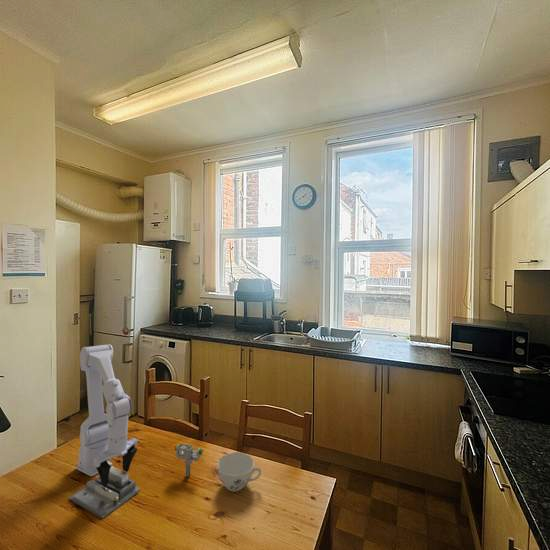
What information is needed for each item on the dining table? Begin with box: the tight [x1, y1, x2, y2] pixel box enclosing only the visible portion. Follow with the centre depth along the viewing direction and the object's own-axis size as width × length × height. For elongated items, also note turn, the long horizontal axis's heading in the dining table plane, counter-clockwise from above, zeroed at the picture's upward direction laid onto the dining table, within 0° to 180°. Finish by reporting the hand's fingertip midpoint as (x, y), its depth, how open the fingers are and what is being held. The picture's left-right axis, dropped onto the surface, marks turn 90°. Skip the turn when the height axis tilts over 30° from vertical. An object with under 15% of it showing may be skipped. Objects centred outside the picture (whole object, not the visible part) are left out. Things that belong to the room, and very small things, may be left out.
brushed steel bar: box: [108, 465, 130, 489], centre depth 97 cm, size 9×2×5 cm, turn 64°
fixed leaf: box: [68, 475, 141, 520], centre depth 94 cm, size 16×13×3 cm
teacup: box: [216, 451, 262, 493], centre depth 101 cm, size 15×12×8 cm
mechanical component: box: [174, 443, 204, 478], centre depth 105 cm, size 3×10×10 cm, turn 78°
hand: (115, 476), depth 97 cm, fingers open, 7 cm apart
